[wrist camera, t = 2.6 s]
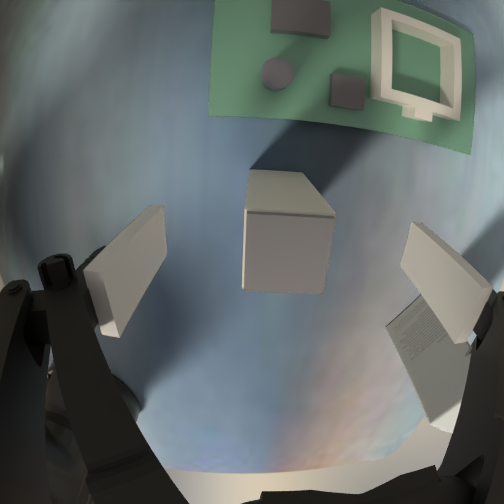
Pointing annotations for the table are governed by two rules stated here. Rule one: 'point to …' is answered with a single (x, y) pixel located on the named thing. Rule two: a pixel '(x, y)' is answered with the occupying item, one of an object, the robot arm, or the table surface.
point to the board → (345, 67)
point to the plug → (285, 234)
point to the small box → (431, 362)
